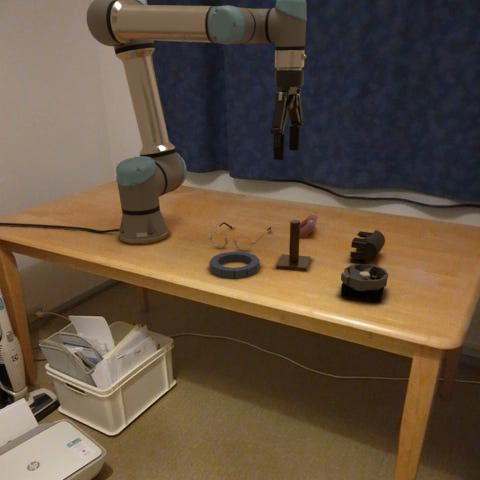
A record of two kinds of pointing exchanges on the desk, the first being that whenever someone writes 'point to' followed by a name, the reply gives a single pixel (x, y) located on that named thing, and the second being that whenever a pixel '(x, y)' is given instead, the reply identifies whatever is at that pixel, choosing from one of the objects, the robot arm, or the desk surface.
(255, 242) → the eyeglasses
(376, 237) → the end cap
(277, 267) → the stand
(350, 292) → the cpu cooler
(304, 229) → the video game controller
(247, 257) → the dark blue segmented ring
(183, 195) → the desk surface
